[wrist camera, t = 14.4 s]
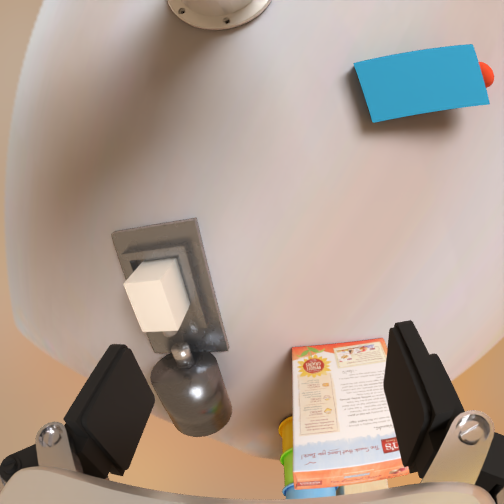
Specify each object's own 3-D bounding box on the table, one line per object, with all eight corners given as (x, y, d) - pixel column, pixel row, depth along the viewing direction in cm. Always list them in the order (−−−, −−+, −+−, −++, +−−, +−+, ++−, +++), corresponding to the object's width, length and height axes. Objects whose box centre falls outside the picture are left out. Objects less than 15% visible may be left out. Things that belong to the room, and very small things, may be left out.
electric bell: (114, 231, 40) (75, 263, 31) (196, 217, 39) (170, 249, 29) (175, 390, 52) (160, 434, 43) (241, 390, 50) (234, 437, 41)
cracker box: (293, 373, 48) (292, 492, 28) (291, 344, 45) (290, 471, 26) (379, 365, 46) (409, 477, 27) (384, 336, 43) (423, 453, 24)
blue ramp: (372, 119, 36) (494, 99, 28) (372, 122, 30) (515, 101, 22) (356, 69, 34) (480, 49, 26) (353, 63, 28) (499, 42, 20)
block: (142, 262, 41) (123, 283, 35) (176, 257, 40) (160, 279, 34) (162, 318, 44) (147, 344, 39) (194, 316, 43) (182, 343, 38)
